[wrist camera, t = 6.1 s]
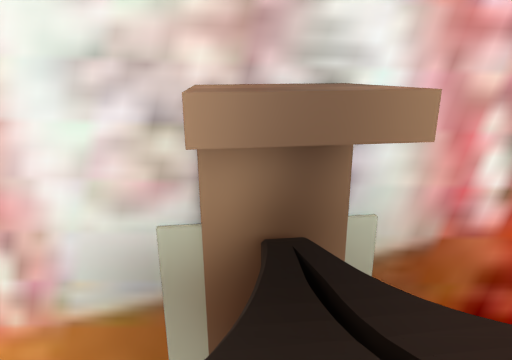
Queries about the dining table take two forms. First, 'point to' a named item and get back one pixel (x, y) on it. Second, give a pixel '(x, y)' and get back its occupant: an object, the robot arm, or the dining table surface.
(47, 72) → the dining table surface
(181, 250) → the mat
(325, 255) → the robot arm
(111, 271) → the dining table surface
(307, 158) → the brown t-shaped bar
